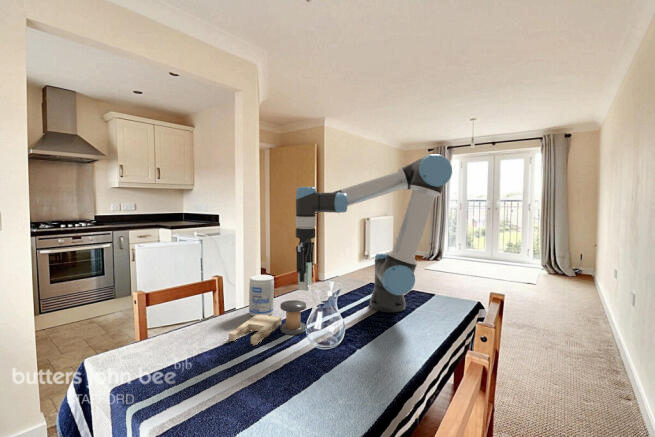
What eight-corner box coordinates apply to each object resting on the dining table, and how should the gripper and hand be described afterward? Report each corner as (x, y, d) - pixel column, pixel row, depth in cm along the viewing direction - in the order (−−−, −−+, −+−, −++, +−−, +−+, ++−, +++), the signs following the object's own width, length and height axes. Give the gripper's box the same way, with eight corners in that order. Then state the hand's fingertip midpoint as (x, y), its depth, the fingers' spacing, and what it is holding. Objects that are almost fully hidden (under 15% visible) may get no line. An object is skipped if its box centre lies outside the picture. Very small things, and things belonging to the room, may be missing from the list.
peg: (301, 286, 124) (302, 261, 123) (311, 288, 123) (311, 262, 122) (298, 289, 120) (298, 263, 120) (307, 290, 119) (308, 264, 118)
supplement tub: (251, 319, 120) (251, 281, 119) (247, 311, 129) (247, 275, 128) (276, 316, 124) (276, 279, 123) (270, 308, 132) (271, 273, 131)
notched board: (257, 320, 119) (257, 314, 119) (281, 323, 116) (281, 317, 116) (228, 341, 102) (228, 333, 101) (256, 345, 99) (256, 338, 99)
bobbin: (286, 322, 117) (286, 299, 116) (309, 326, 114) (309, 301, 114) (275, 332, 108) (275, 307, 108) (300, 336, 106) (300, 310, 105)
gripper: (304, 225, 129) (303, 281, 131) (287, 229, 113) (286, 293, 115) (322, 226, 127) (321, 283, 129) (306, 230, 111) (306, 295, 112)
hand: (304, 287), depth 122 cm, fingers closed on peg, 4 cm apart
